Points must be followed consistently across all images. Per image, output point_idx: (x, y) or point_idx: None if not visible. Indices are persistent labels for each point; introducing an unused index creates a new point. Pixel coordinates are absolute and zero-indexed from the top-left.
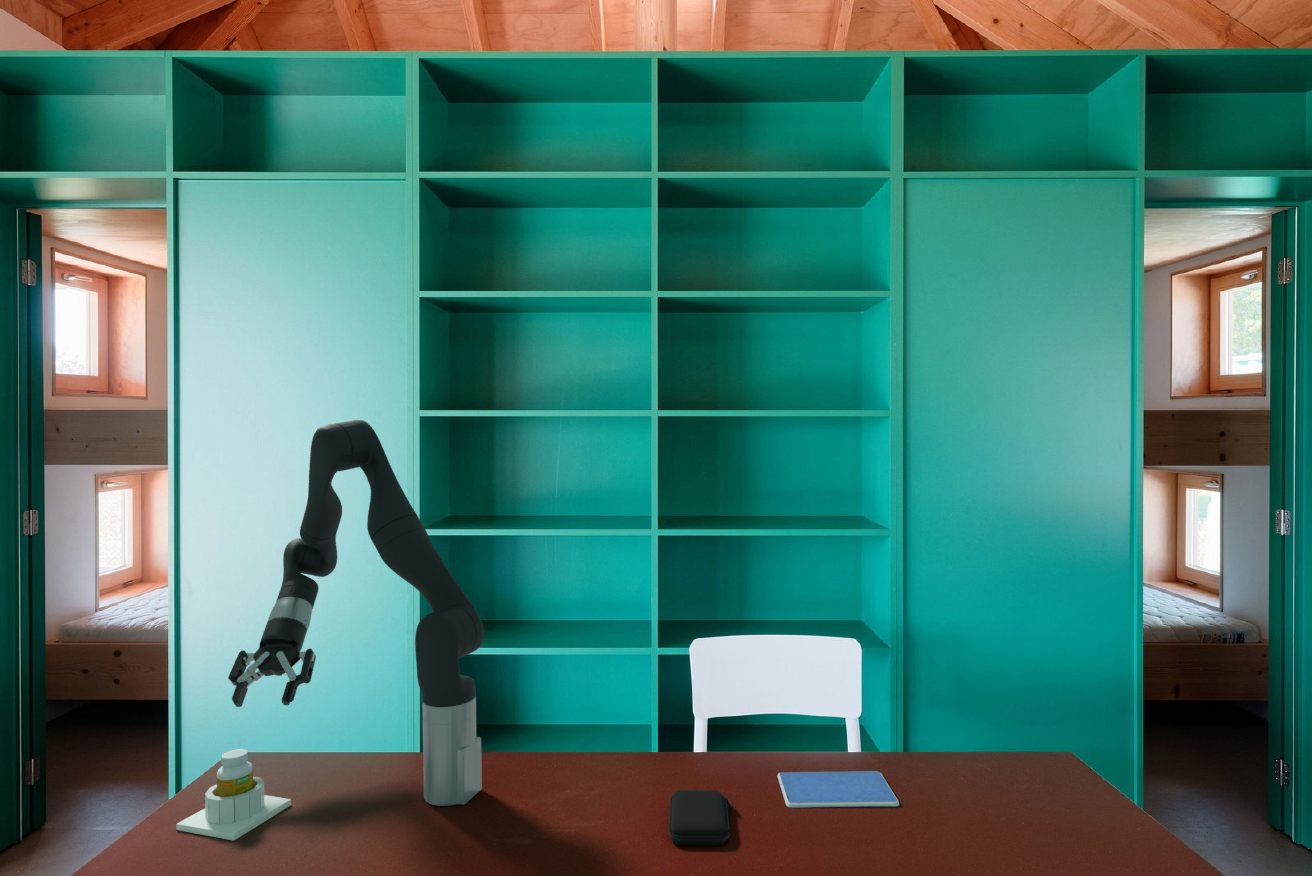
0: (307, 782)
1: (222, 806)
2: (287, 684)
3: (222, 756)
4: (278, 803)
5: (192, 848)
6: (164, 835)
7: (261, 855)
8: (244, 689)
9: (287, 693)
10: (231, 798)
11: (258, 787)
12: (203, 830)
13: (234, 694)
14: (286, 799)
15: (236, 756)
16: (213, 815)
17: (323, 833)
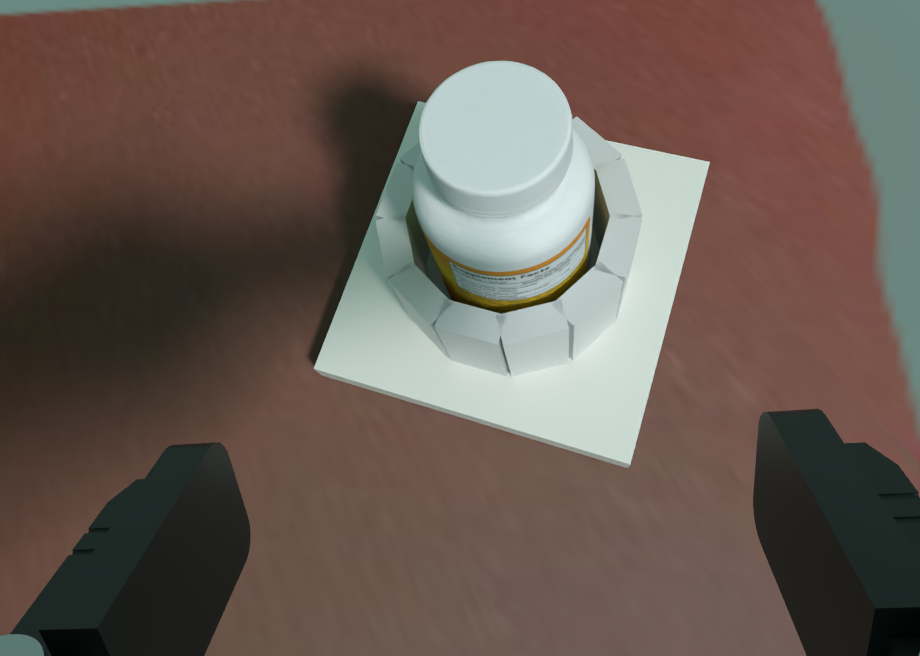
0: (335, 615)
1: None
2: (103, 593)
3: (547, 79)
4: (353, 331)
5: (547, 67)
6: (725, 139)
7: (282, 43)
8: (835, 627)
9: (136, 503)
10: None
11: (385, 219)
12: None
13: (902, 500)
14: (333, 367)
15: (456, 86)
16: None
17: (123, 170)
